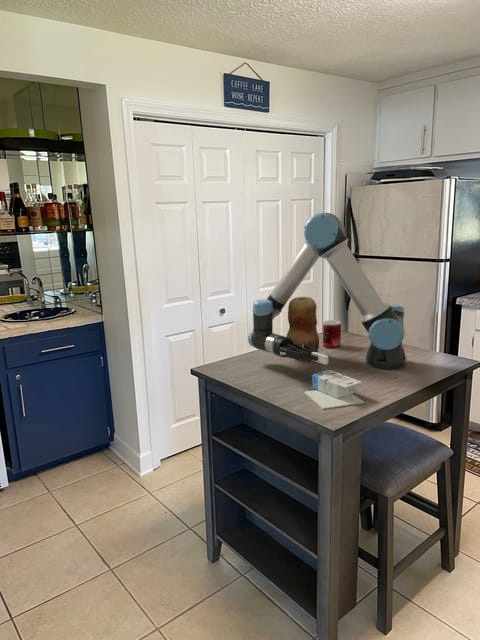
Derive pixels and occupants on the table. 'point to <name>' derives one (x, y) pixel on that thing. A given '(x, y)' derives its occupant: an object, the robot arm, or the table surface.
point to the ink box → (334, 383)
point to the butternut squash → (303, 321)
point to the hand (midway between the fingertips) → (326, 360)
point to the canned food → (331, 334)
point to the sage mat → (332, 399)
